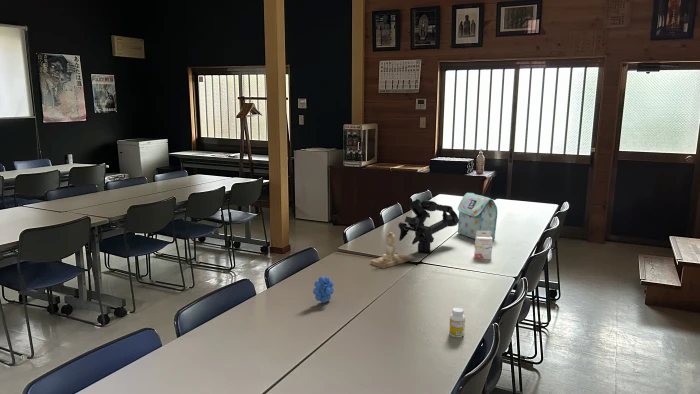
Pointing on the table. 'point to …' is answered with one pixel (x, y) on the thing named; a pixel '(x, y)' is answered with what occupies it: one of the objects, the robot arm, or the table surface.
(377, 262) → the oak board
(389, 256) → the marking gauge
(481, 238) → the ink cartridge box
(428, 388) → the table surface
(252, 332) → the table surface
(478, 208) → the lunch bag
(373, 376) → the table surface
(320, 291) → the blue knobbly wheel
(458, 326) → the supplement bottle
